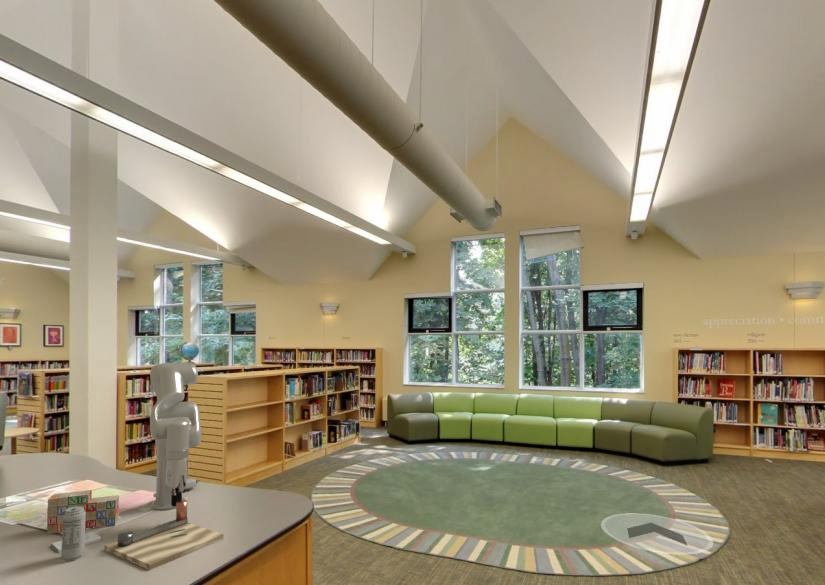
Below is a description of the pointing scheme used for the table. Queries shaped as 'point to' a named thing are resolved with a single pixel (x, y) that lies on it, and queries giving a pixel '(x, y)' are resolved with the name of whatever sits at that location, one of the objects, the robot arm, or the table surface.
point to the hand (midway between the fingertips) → (176, 505)
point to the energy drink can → (73, 533)
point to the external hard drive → (89, 539)
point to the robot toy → (191, 483)
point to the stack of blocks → (96, 509)
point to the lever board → (166, 545)
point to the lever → (181, 519)
